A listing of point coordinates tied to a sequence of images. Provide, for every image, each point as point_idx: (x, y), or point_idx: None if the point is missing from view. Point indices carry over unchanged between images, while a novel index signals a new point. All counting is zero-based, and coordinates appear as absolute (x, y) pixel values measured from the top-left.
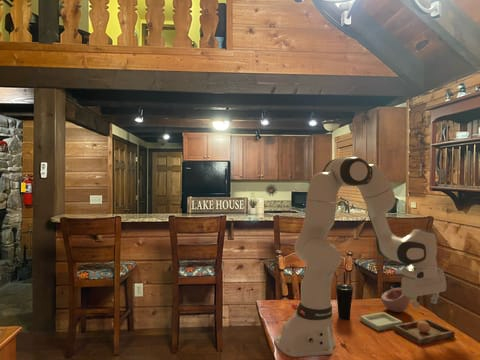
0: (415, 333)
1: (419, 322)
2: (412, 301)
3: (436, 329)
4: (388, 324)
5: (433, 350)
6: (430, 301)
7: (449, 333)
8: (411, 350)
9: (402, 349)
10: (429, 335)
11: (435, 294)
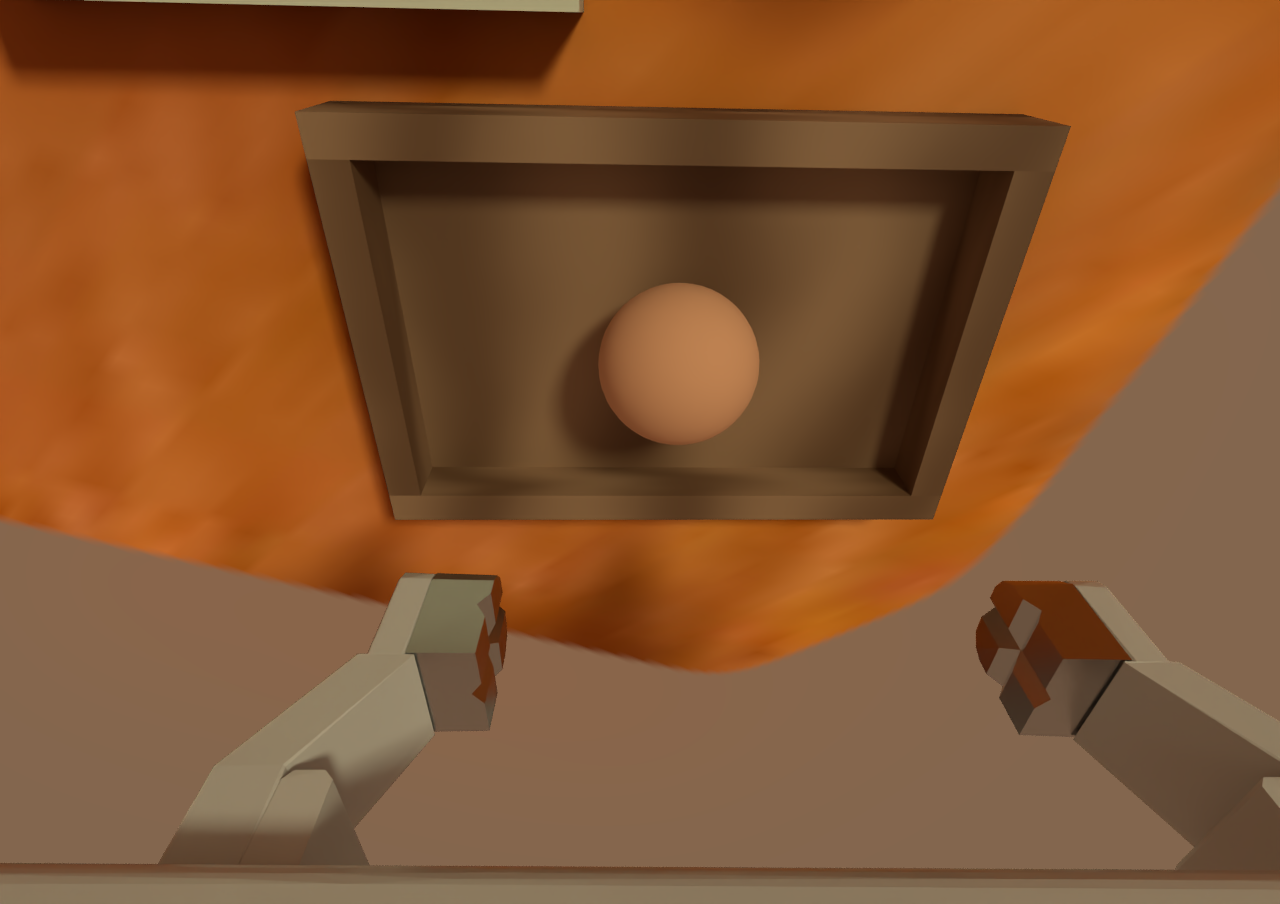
0: (545, 318)
1: (634, 362)
2: (350, 671)
3: (908, 328)
4: (234, 3)
5: (470, 566)
6: (1015, 598)
7: (850, 513)
8: (258, 515)
9: (172, 480)
10: (574, 497)
11: (1195, 855)
